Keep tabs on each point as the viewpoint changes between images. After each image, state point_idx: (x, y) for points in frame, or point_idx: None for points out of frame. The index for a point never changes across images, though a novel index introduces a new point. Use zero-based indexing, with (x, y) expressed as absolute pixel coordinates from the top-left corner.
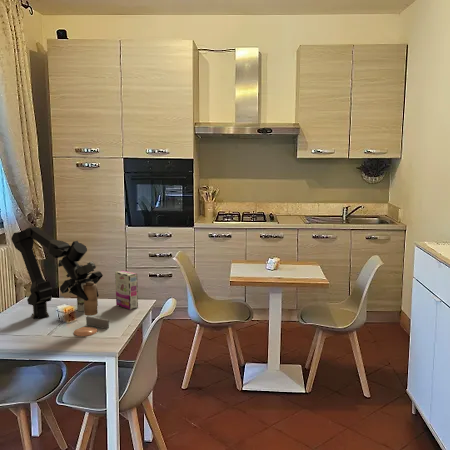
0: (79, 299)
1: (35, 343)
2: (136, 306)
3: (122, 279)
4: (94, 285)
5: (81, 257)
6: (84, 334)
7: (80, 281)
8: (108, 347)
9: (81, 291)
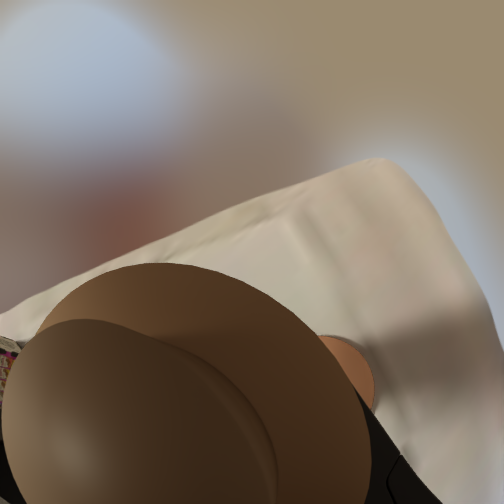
0: None
1: (487, 452)
2: (13, 342)
3: None
4: (135, 294)
5: None
6: (360, 359)
7: None
8: (387, 189)
9: (413, 473)
